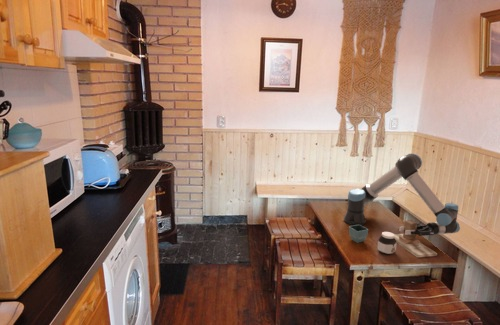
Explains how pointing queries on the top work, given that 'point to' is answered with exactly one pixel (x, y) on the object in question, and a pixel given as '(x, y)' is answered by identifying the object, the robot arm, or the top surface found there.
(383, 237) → the spread jar
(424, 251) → the plywood board
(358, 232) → the flower pot
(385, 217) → the top surface
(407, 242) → the block
